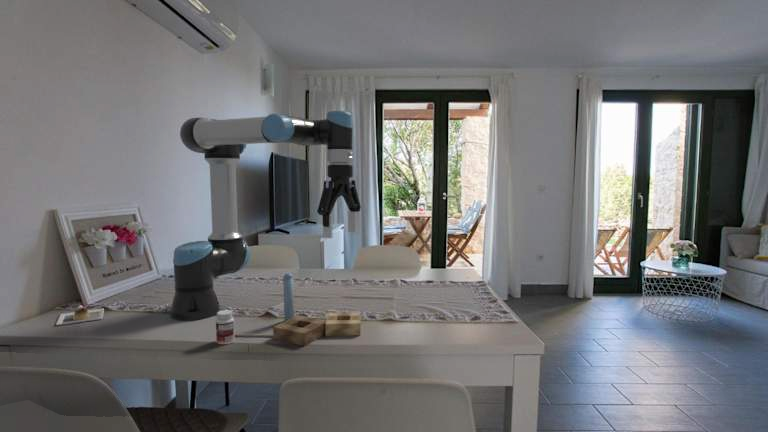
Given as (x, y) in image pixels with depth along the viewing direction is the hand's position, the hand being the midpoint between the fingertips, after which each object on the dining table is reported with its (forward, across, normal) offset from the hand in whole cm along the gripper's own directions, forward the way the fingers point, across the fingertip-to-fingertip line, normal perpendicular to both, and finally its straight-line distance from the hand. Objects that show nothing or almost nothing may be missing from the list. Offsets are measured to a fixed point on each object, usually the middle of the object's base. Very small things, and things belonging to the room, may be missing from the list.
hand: (340, 235), depth 130 cm
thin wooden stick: (+28, -20, +18) cm, 39 cm away
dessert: (+29, -33, +78) cm, 90 cm away
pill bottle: (+28, -26, +21) cm, 44 cm away
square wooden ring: (+28, -13, +5) cm, 31 cm away
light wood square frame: (+28, -3, -3) cm, 28 cm away
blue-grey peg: (+28, -5, +16) cm, 33 cm away
